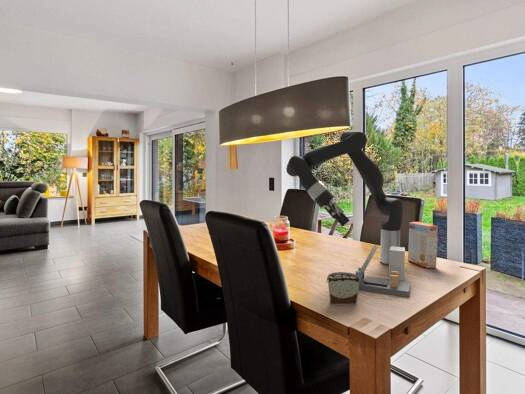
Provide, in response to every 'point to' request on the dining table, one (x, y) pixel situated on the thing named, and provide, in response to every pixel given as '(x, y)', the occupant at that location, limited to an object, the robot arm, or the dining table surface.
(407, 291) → the mounting plate
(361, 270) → the strap
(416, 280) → the dining table surface
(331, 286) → the food container
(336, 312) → the dining table surface
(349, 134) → the robot arm
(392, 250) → the small box
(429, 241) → the cracker box
